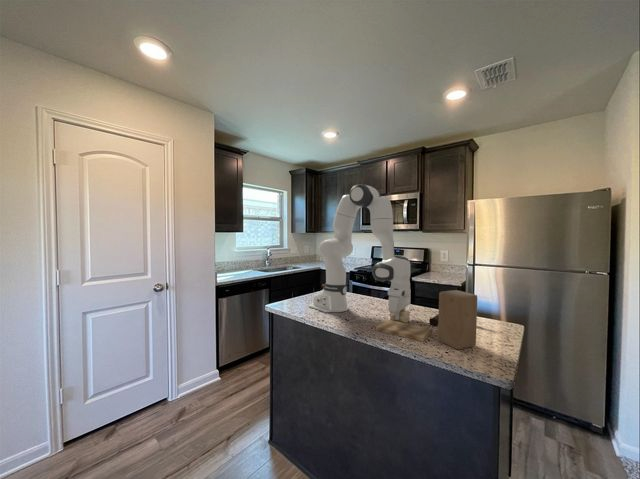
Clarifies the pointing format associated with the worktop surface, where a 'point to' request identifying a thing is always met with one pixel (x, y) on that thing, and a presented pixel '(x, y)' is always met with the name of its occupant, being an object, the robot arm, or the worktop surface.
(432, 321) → the hand tool
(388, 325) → the board
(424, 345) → the worktop surface
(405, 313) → the sanding block
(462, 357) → the worktop surface
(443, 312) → the wooden block
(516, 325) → the worktop surface
